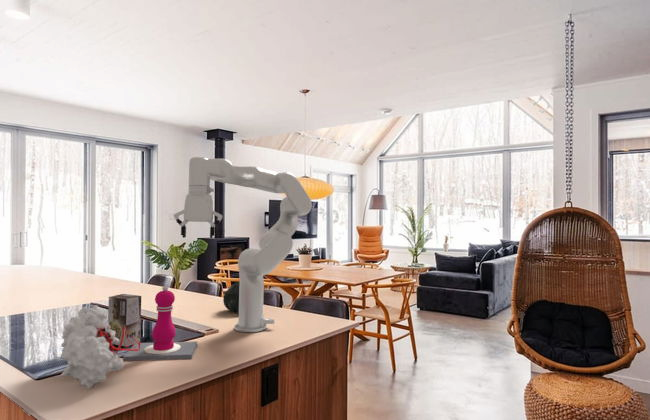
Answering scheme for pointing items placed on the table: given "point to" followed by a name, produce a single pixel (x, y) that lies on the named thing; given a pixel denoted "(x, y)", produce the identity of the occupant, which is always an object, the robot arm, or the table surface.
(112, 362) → the lumpy white molecule
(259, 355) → the table surface
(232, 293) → the squash
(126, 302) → the electrical box
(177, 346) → the board
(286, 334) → the table surface
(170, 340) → the pepper mill
